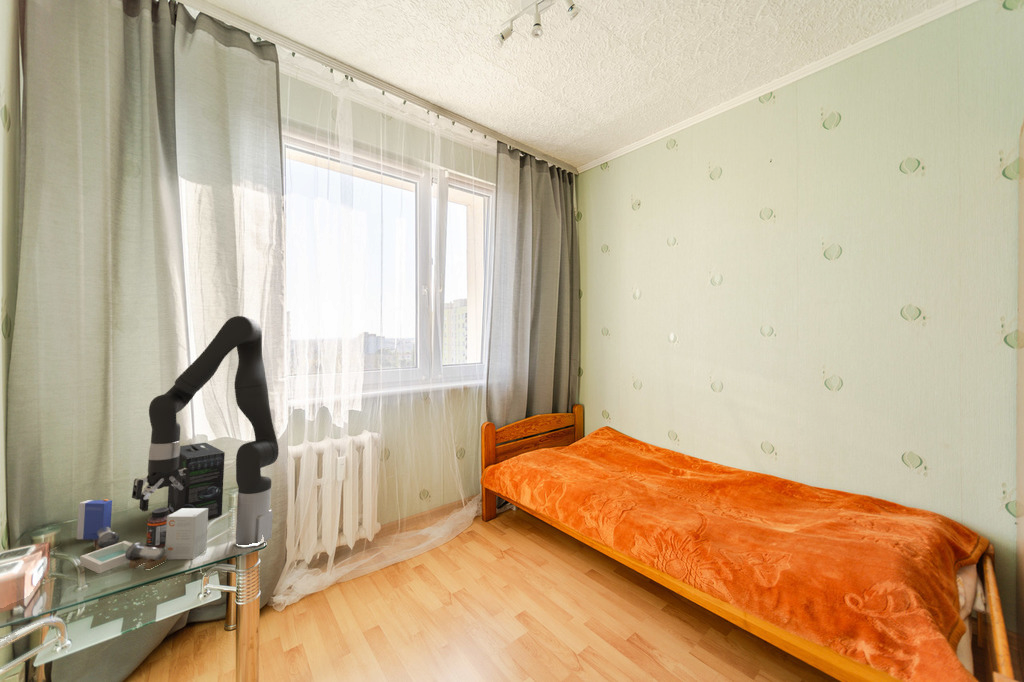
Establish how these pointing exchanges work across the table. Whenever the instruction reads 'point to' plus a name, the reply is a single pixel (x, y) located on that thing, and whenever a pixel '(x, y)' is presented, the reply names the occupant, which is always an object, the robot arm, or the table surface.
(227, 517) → the table surface
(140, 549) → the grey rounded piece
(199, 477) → the headset box
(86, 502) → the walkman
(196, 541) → the small box
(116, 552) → the shallow white dish
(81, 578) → the table surface
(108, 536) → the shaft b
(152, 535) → the supplement bottle
